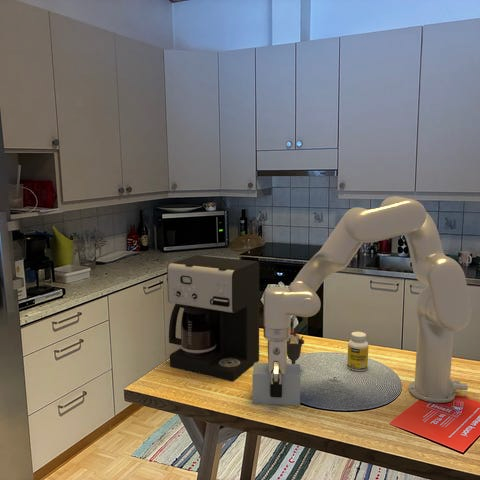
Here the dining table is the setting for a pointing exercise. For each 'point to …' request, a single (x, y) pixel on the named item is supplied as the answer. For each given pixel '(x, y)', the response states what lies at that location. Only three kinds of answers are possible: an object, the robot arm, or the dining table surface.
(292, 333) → the sundae
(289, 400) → the grey rectangular block
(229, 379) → the coffee maker
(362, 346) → the pill bottle
